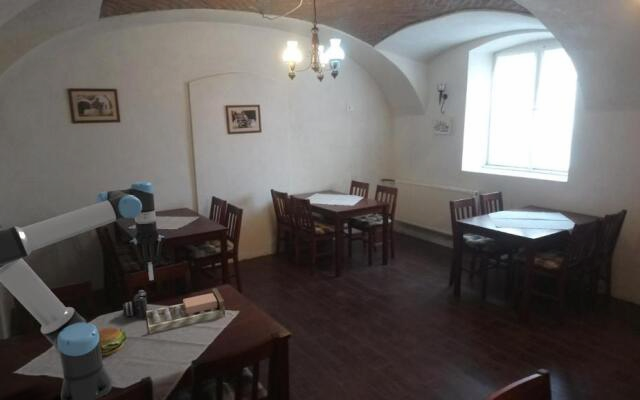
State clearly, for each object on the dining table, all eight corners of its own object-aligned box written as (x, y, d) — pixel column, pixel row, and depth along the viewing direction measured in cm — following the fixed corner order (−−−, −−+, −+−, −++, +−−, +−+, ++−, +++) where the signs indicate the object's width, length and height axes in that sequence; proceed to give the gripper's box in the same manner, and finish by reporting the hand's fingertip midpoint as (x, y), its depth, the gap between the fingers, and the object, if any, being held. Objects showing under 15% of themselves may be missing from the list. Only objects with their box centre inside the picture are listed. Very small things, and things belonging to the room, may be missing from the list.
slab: (187, 314, 188) (186, 307, 188) (183, 305, 197) (183, 299, 197) (217, 307, 194) (217, 300, 194) (213, 299, 203) (212, 292, 203)
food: (91, 363, 159) (88, 344, 157) (87, 346, 170) (84, 329, 169) (129, 351, 166) (127, 333, 165) (123, 336, 178) (121, 319, 176)
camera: (124, 310, 202) (121, 291, 200) (148, 305, 207) (145, 287, 205) (124, 323, 190) (121, 302, 188) (149, 317, 194) (147, 297, 192)
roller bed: (149, 333, 179) (147, 317, 178) (147, 317, 194) (145, 302, 193) (225, 315, 193) (223, 300, 192) (217, 302, 208) (216, 288, 206)
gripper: (127, 225, 154) (134, 285, 158) (164, 221, 160) (169, 279, 164) (126, 221, 161) (133, 279, 165) (162, 217, 166) (167, 273, 171)
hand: (151, 279), depth 165 cm, fingers closed
